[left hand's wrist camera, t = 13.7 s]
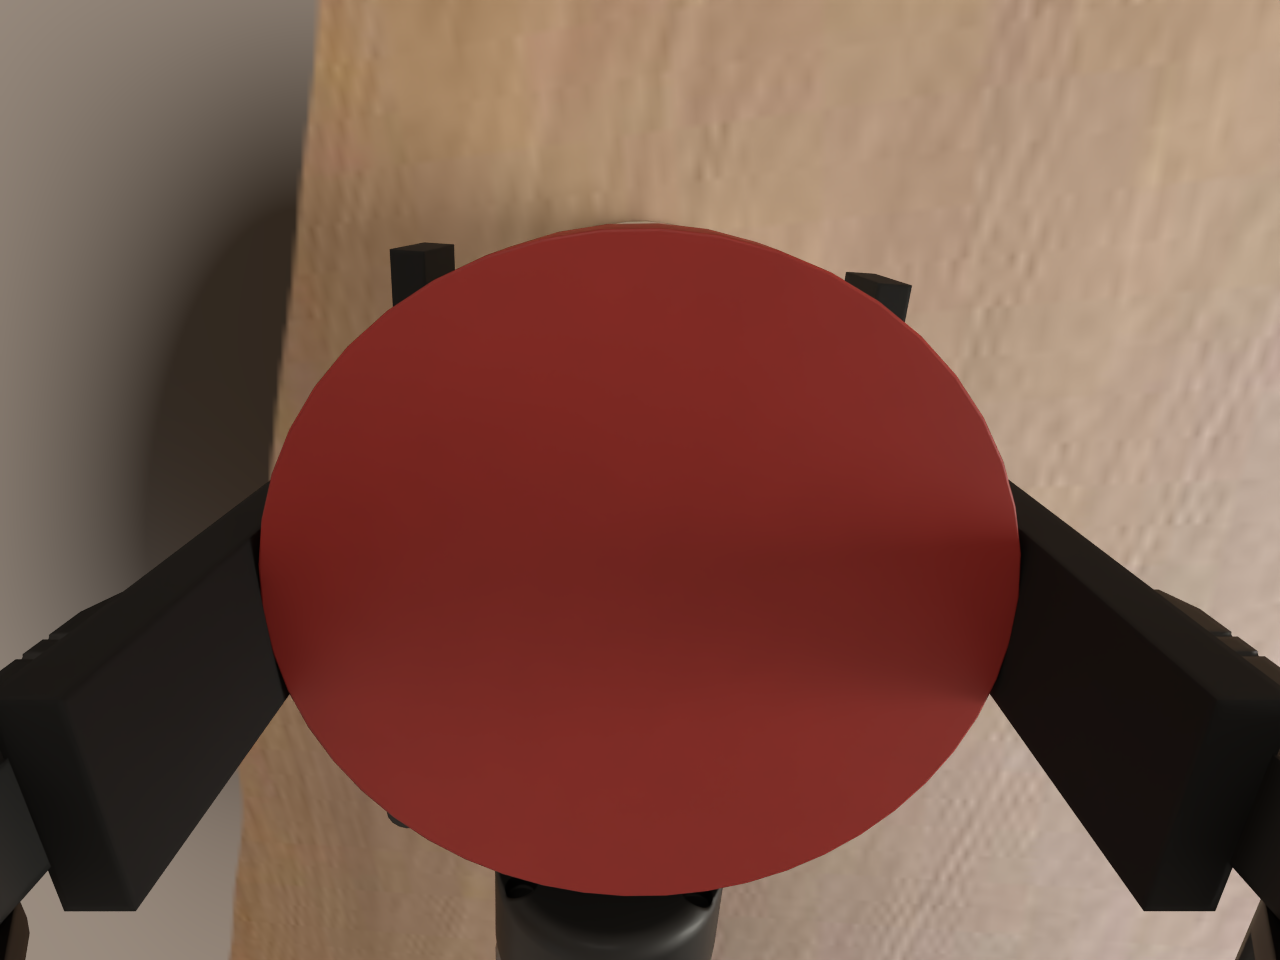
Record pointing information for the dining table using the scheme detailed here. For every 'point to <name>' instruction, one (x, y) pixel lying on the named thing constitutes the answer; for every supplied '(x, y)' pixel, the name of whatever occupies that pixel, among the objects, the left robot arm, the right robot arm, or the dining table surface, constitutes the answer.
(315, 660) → the lid
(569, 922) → the right robot arm
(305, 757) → the dining table surface
